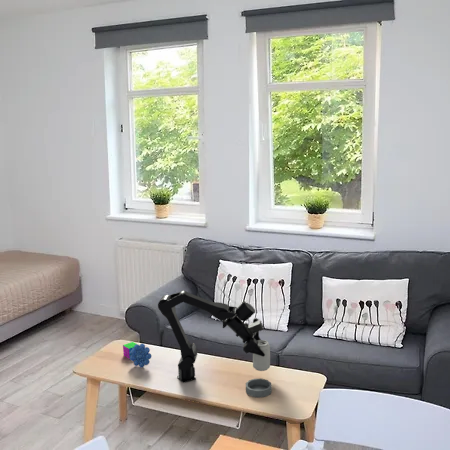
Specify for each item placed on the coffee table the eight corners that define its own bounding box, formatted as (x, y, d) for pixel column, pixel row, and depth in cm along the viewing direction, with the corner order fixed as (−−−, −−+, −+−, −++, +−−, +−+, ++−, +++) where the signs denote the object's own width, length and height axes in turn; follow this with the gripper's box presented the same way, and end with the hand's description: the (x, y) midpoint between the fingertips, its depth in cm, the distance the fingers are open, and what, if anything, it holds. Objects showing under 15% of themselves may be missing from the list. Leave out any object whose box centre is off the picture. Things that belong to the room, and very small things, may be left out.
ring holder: (255, 400, 231) (254, 393, 231) (241, 389, 240) (240, 382, 240) (276, 392, 237) (276, 386, 236) (262, 382, 246) (262, 376, 245)
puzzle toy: (139, 356, 276) (139, 345, 275) (129, 359, 272) (128, 348, 271) (133, 352, 280) (132, 341, 279) (123, 356, 277) (122, 345, 275)
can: (273, 367, 248) (273, 341, 245) (263, 373, 242) (263, 347, 240) (259, 362, 252) (259, 337, 250) (249, 368, 247) (249, 343, 244)
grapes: (157, 365, 265) (155, 341, 262) (149, 371, 259) (147, 347, 256) (136, 361, 270) (134, 338, 267) (128, 367, 264) (126, 343, 261)
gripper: (251, 323, 233) (277, 349, 235) (253, 307, 252) (277, 331, 253) (232, 340, 236) (258, 366, 237) (235, 323, 254) (260, 347, 255)
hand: (264, 351), depth 245 cm, fingers closed on can, 7 cm apart
